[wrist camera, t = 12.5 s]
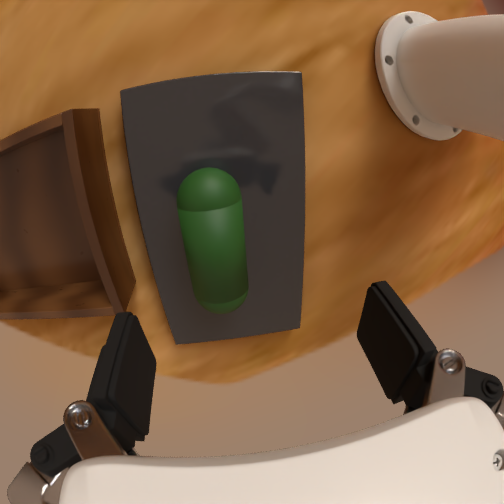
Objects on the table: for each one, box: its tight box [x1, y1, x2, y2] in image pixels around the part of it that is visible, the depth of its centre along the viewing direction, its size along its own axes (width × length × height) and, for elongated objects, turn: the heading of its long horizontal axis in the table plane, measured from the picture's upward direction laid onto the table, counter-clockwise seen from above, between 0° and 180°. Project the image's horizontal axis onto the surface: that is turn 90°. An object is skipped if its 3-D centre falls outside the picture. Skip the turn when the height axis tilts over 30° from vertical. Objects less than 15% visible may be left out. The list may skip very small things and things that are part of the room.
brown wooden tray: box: [0, 108, 136, 319], centre depth 16 cm, size 22×15×4 cm
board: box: [120, 71, 305, 344], centre depth 21 cm, size 12×22×2 cm, turn 4°
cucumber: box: [176, 167, 249, 314], centre depth 18 cm, size 4×10×4 cm, turn 3°
